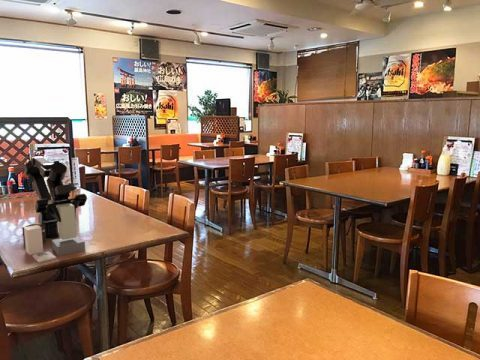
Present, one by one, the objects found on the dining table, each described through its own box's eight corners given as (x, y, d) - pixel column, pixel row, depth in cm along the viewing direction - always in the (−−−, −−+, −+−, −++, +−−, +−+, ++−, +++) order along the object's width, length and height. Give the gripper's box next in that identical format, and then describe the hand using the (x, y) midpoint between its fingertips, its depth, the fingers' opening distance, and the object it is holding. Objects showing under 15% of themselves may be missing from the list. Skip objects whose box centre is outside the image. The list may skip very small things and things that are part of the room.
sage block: (59, 236, 153) (56, 205, 150) (72, 234, 156) (69, 203, 154) (63, 239, 149) (60, 207, 147) (76, 237, 152) (74, 205, 150)
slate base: (52, 249, 154) (51, 240, 154) (78, 244, 160) (77, 235, 160) (58, 256, 146) (57, 246, 146) (85, 251, 153) (84, 241, 152)
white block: (26, 251, 151) (23, 227, 149) (39, 248, 154) (37, 224, 152) (29, 255, 147) (27, 230, 145) (43, 252, 150) (41, 227, 149)
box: (35, 245, 158) (34, 228, 156) (23, 244, 159) (21, 227, 158) (46, 240, 164) (44, 224, 162) (33, 239, 165) (32, 223, 164)
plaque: (32, 256, 146) (32, 254, 145) (49, 252, 149) (49, 251, 149) (38, 262, 140) (38, 260, 140) (55, 258, 144) (55, 256, 143)
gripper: (34, 179, 145) (45, 213, 139) (84, 174, 157) (96, 205, 151) (30, 195, 152) (40, 229, 146) (78, 190, 164) (89, 220, 158)
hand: (67, 220), depth 150 cm, fingers closed on sage block, 5 cm apart
